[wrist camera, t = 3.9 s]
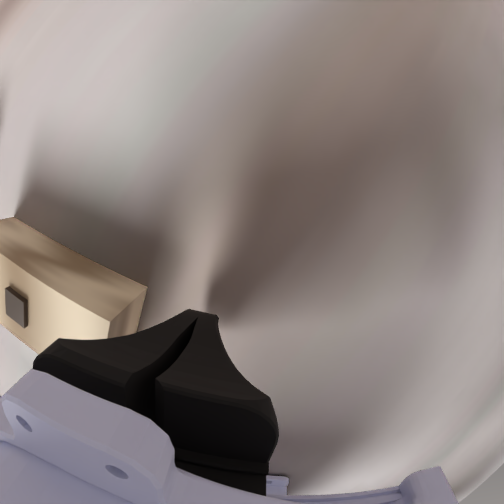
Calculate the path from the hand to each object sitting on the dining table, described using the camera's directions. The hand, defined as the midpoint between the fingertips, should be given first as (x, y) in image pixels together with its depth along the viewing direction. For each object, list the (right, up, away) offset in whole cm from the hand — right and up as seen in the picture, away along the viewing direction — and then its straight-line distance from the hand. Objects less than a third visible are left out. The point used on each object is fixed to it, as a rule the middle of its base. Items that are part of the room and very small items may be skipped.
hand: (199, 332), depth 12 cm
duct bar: (-8, +2, +1) cm, 8 cm away
